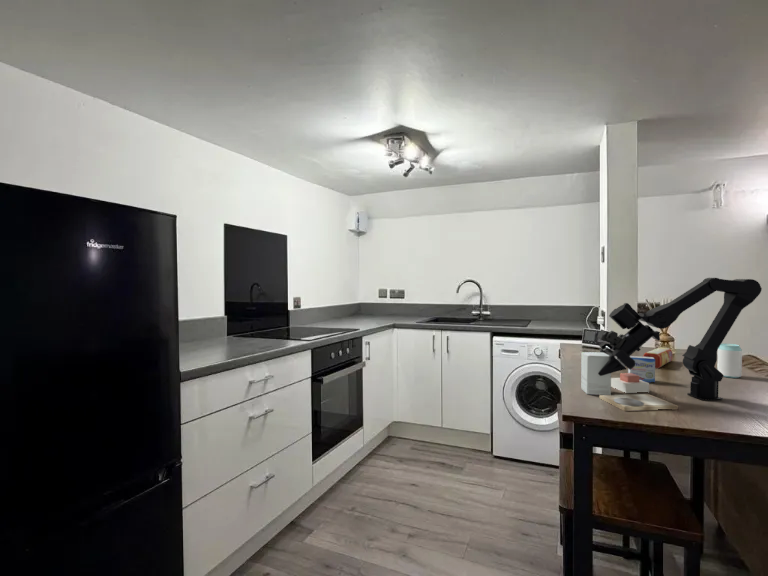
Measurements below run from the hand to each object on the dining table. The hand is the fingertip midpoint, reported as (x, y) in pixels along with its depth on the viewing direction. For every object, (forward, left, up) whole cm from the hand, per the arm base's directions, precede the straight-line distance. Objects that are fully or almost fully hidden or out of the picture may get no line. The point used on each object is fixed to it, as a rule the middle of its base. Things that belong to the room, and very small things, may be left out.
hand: (595, 372), depth 138 cm
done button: (-13, -2, -5) cm, 14 cm away
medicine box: (-25, -13, -7) cm, 29 cm away
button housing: (-13, -2, -7) cm, 15 cm away
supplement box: (0, 0, -7) cm, 7 cm away
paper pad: (-5, +13, -7) cm, 15 cm away
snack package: (-51, -39, -7) cm, 65 cm away
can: (-62, -16, -7) cm, 64 cm away
